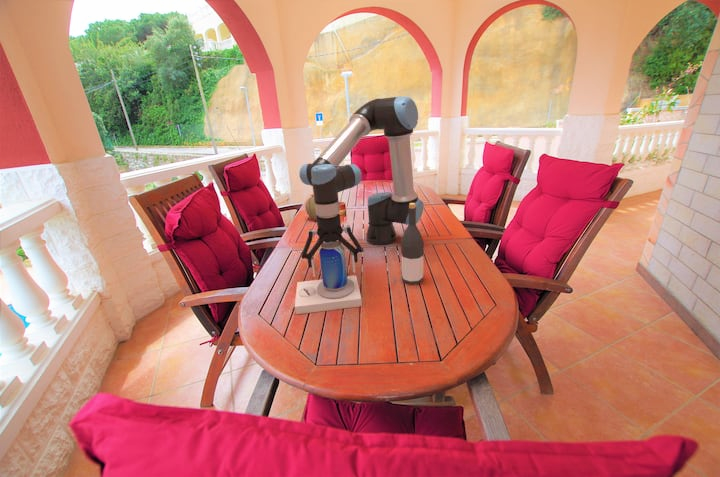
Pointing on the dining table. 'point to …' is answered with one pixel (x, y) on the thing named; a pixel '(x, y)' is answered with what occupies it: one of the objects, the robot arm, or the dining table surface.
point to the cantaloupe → (311, 207)
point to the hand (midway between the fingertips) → (334, 272)
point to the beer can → (333, 266)
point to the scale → (326, 296)
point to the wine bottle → (412, 251)
